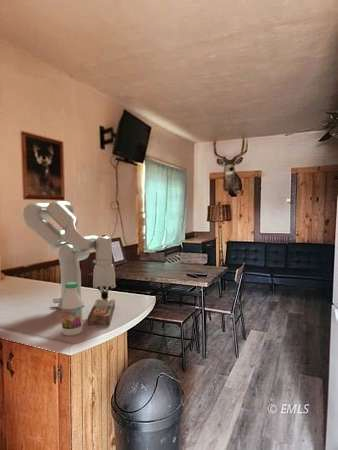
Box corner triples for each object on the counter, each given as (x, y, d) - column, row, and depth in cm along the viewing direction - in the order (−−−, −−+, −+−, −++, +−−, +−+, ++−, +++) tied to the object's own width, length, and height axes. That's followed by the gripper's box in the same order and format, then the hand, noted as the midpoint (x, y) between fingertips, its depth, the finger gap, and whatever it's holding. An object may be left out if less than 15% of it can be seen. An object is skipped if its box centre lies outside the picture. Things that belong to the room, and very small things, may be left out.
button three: (93, 323, 134) (93, 312, 134) (95, 319, 139) (95, 308, 139) (105, 323, 135) (105, 311, 134) (106, 319, 140) (106, 308, 139)
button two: (96, 313, 142) (95, 302, 141) (97, 309, 146) (97, 298, 146) (107, 313, 142) (107, 301, 142) (108, 309, 147) (108, 298, 147)
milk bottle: (64, 329, 129) (63, 280, 128) (84, 328, 129) (83, 280, 128) (60, 336, 121) (58, 285, 120) (80, 336, 122) (79, 285, 121)
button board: (88, 325, 132) (87, 316, 132) (96, 307, 156) (96, 299, 155) (109, 325, 133) (109, 315, 133) (114, 307, 156) (114, 299, 156)
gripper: (86, 264, 146) (87, 302, 147) (119, 263, 147) (119, 301, 148) (89, 261, 154) (90, 298, 155) (120, 260, 155) (120, 297, 156)
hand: (104, 299), depth 151 cm, fingers closed
